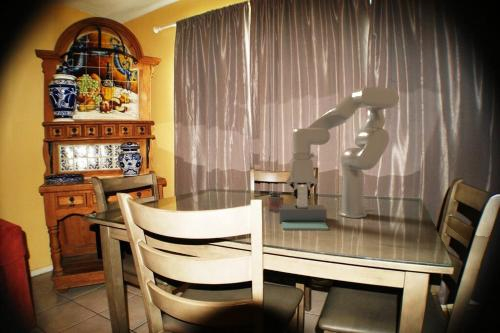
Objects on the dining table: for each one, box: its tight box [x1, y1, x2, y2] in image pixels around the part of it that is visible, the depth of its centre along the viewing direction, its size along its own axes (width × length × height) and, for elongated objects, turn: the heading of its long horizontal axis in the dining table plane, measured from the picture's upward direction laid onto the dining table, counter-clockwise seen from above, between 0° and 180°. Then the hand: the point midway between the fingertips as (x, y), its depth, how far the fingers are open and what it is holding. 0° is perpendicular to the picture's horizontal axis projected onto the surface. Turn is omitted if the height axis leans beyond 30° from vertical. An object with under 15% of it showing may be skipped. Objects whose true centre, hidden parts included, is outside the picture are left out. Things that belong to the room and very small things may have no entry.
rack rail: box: [278, 204, 328, 224], centre depth 126 cm, size 20×9×6 cm, turn 86°
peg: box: [296, 186, 308, 209], centre depth 126 cm, size 4×4×12 cm
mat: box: [281, 222, 329, 231], centre depth 117 cm, size 18×8×1 cm, turn 86°
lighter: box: [267, 191, 284, 214], centre depth 142 cm, size 8×3×10 cm, turn 62°
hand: (301, 197), depth 126 cm, fingers closed on peg, 4 cm apart
